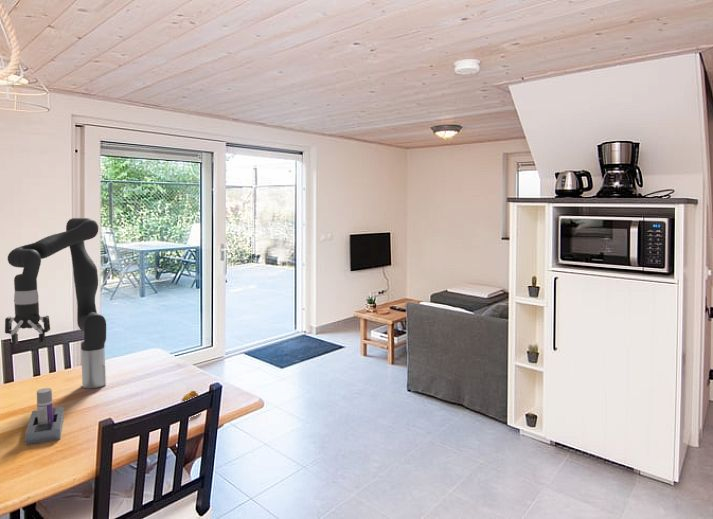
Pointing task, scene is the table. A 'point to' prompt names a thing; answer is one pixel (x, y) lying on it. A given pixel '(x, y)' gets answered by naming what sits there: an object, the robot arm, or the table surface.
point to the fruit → (189, 395)
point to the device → (44, 428)
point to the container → (44, 406)
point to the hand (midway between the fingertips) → (28, 343)
